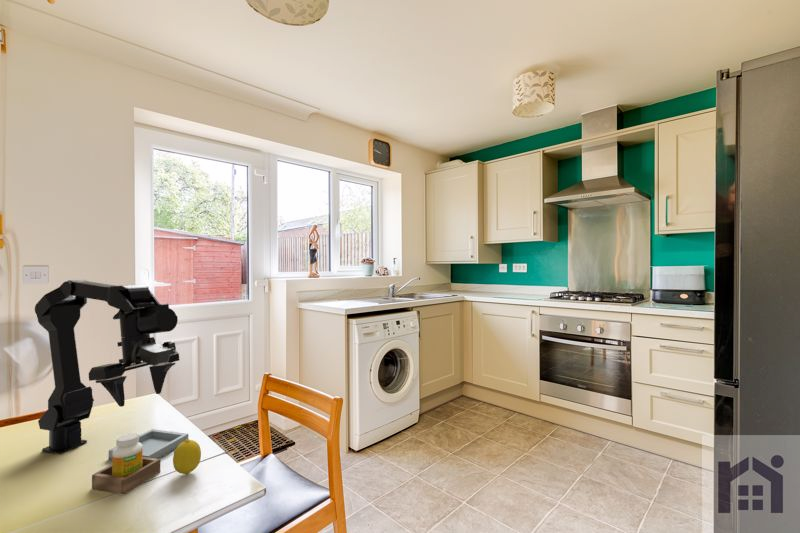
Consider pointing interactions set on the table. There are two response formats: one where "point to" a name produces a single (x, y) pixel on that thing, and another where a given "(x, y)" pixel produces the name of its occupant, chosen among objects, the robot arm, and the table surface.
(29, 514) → the table surface
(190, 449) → the lemon
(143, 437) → the parts tray
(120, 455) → the supplement bottle
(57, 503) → the table surface
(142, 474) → the brown wooden open box
